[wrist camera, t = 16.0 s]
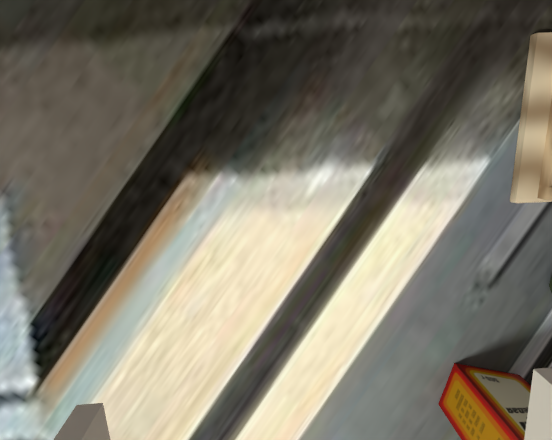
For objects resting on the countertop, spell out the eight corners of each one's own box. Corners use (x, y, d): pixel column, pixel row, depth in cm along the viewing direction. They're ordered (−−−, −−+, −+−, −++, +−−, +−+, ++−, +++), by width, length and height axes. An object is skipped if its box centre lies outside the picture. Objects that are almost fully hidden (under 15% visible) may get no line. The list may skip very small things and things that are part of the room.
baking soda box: (519, 375, 49) (641, 489, 33) (501, 415, 50) (610, 542, 35) (454, 363, 48) (548, 474, 32) (438, 404, 49) (520, 529, 34)
